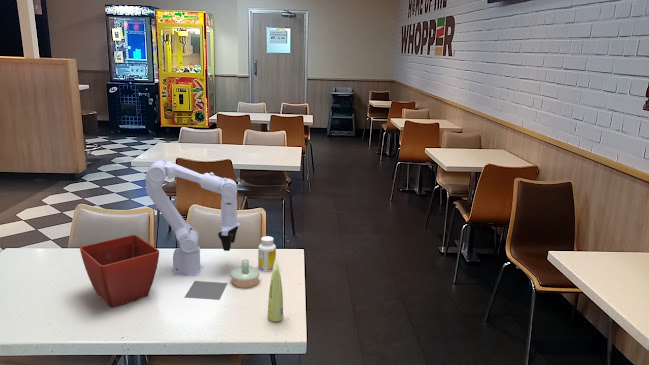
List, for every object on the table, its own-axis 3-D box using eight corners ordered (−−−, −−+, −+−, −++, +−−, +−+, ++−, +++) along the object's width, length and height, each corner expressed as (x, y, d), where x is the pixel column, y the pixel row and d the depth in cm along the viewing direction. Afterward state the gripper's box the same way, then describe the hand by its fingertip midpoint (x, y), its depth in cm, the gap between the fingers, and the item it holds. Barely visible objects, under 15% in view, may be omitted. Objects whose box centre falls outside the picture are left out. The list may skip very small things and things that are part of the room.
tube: (262, 317, 157) (263, 261, 151) (274, 311, 160) (275, 256, 155) (275, 324, 153) (276, 267, 148) (286, 318, 157) (288, 262, 152)
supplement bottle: (277, 266, 193) (277, 235, 189) (273, 273, 186) (274, 242, 183) (260, 264, 193) (260, 234, 190) (256, 272, 187) (256, 241, 183)
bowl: (230, 287, 174) (230, 278, 173) (235, 276, 183) (235, 267, 182) (255, 289, 174) (255, 280, 173) (259, 277, 182) (259, 269, 182)
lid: (227, 279, 173) (227, 266, 171) (235, 266, 183) (235, 253, 181) (256, 282, 172) (256, 268, 170) (262, 269, 182) (262, 256, 180)
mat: (184, 298, 165) (184, 297, 165) (194, 282, 177) (194, 280, 177) (219, 301, 165) (219, 299, 165) (227, 284, 177) (227, 282, 176)
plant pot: (137, 276, 179) (135, 233, 174) (162, 296, 166) (160, 250, 161) (82, 292, 166) (78, 246, 161) (105, 316, 153) (101, 266, 148)
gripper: (235, 219, 174) (235, 254, 177) (243, 206, 188) (243, 239, 191) (215, 218, 174) (216, 253, 178) (225, 205, 188) (225, 238, 191)
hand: (229, 246), depth 184 cm, fingers open, 7 cm apart
